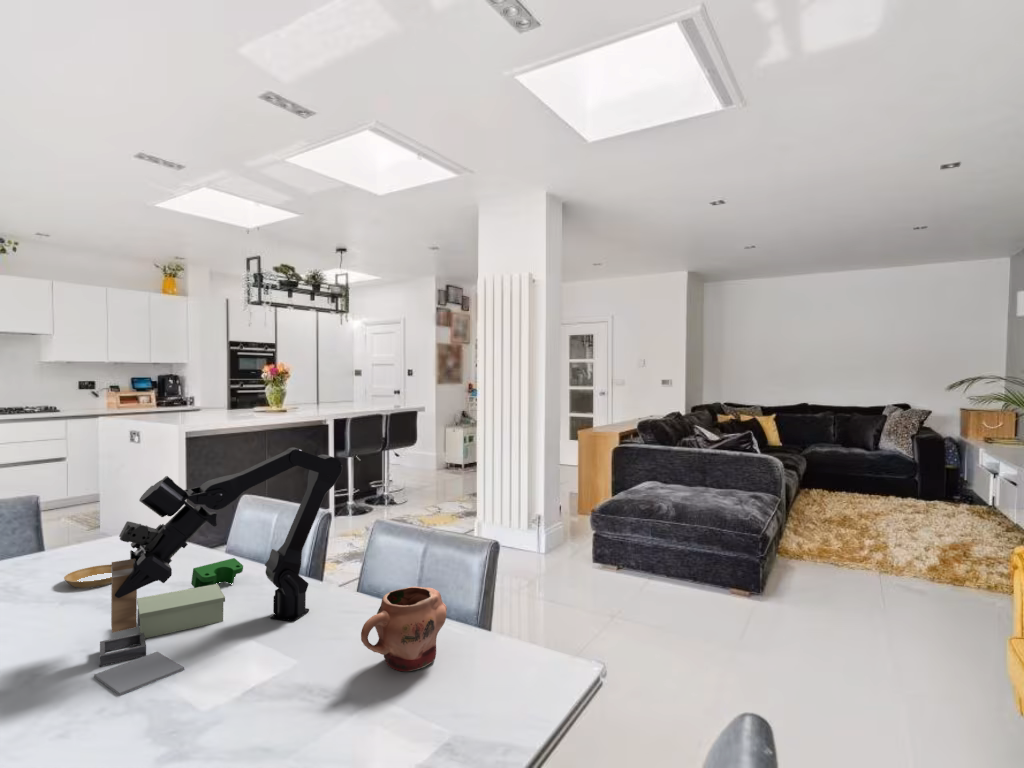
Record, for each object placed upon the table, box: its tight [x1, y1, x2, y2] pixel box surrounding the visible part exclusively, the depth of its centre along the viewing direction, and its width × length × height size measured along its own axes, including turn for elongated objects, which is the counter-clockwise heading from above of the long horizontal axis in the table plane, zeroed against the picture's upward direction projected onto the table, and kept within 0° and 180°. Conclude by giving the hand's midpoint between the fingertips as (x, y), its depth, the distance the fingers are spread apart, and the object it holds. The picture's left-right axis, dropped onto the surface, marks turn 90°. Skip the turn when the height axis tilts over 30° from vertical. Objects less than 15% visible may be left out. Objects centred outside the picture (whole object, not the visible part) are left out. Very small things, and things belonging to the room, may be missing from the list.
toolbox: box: [137, 584, 226, 639], centre depth 130 cm, size 17×11×6 cm, turn 126°
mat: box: [93, 651, 185, 697], centre depth 107 cm, size 11×11×1 cm
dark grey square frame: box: [99, 632, 147, 667], centre depth 115 cm, size 8×8×2 cm
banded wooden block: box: [110, 558, 138, 634], centre depth 114 cm, size 4×4×13 cm
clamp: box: [190, 557, 244, 588], centre depth 153 cm, size 12×6×9 cm, turn 139°
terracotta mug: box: [360, 586, 448, 672], centre depth 112 cm, size 20×12×14 cm, turn 143°
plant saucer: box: [63, 563, 112, 589], centre depth 155 cm, size 15×15×3 cm
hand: (115, 593), depth 113 cm, fingers closed on banded wooden block, 4 cm apart
